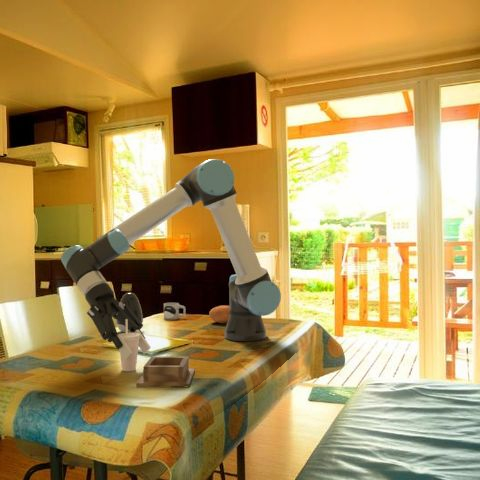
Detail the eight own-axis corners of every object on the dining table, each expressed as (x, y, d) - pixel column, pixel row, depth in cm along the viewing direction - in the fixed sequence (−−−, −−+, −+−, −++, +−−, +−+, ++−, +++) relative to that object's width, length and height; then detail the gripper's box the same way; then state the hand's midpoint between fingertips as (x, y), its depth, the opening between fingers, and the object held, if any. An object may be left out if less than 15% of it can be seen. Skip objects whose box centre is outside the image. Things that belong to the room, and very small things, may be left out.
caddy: (194, 371, 129) (194, 355, 129) (188, 386, 116) (188, 368, 116) (147, 371, 129) (147, 355, 129) (136, 386, 116) (135, 368, 116)
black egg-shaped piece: (119, 335, 176) (119, 294, 176) (113, 330, 185) (113, 291, 185) (146, 332, 181) (146, 293, 180) (139, 328, 190) (138, 290, 190)
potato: (231, 325, 194) (231, 307, 194) (206, 324, 197) (206, 306, 197) (238, 321, 203) (238, 304, 203) (213, 320, 206) (213, 303, 206)
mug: (161, 319, 209) (161, 304, 209) (166, 317, 216) (166, 302, 216) (183, 320, 207) (183, 305, 207) (187, 317, 214) (187, 302, 214)
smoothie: (119, 366, 134) (118, 317, 133) (142, 365, 134) (141, 316, 134) (115, 373, 127) (114, 321, 127) (139, 372, 128) (138, 320, 128)
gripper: (114, 295, 147) (154, 354, 138) (62, 303, 130) (105, 370, 122) (126, 278, 144) (168, 338, 136) (75, 284, 127) (119, 352, 119)
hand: (138, 353), depth 129 cm, fingers closed on smoothie, 6 cm apart
